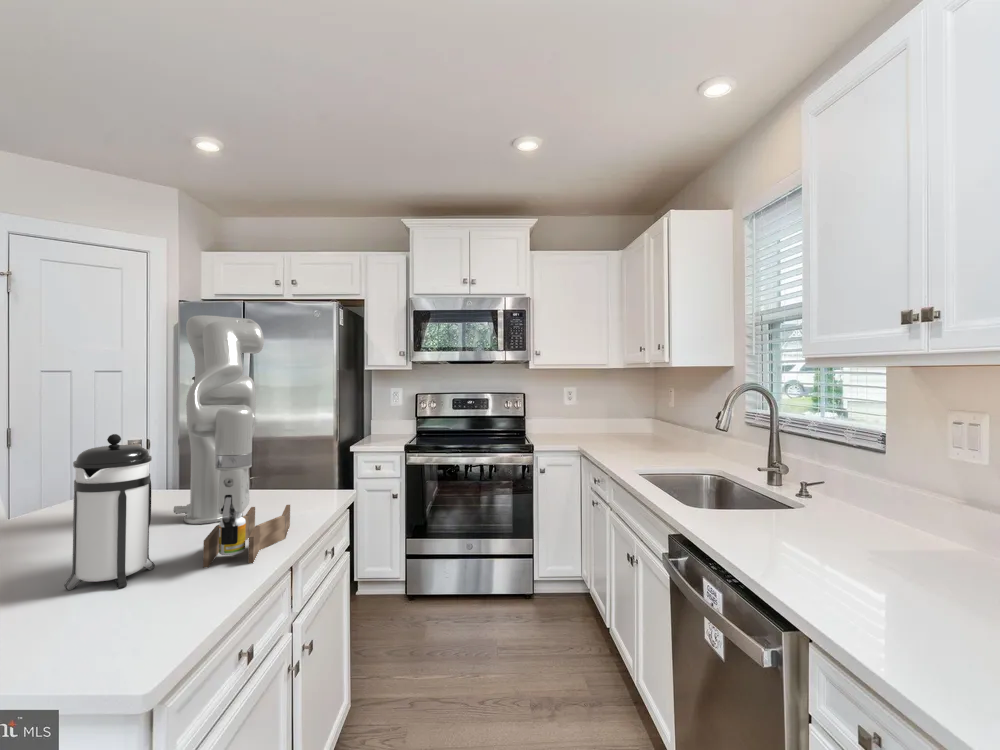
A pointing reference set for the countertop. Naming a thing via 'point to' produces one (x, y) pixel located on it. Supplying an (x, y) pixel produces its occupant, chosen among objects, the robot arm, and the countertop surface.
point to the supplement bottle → (240, 545)
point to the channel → (251, 535)
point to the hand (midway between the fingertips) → (232, 538)
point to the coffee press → (111, 513)
